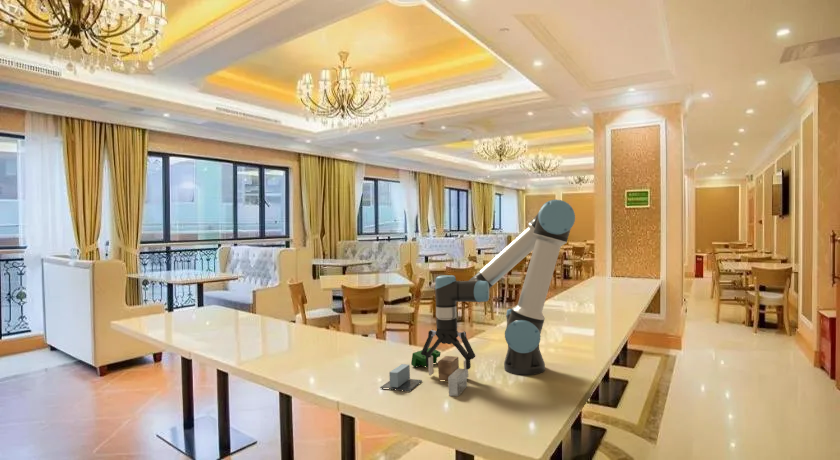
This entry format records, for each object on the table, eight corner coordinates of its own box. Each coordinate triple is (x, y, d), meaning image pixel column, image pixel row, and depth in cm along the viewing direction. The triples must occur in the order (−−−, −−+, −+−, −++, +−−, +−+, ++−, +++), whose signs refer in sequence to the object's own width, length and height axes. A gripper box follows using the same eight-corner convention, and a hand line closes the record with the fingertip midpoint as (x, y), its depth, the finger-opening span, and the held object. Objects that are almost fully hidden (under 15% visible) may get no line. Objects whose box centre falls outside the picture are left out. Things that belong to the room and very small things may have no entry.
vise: (467, 386, 155) (466, 368, 155) (457, 397, 145) (456, 378, 145) (394, 379, 166) (393, 362, 166) (380, 388, 156) (379, 371, 156)
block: (459, 375, 167) (458, 356, 167) (452, 382, 160) (451, 362, 160) (446, 374, 169) (445, 355, 169) (438, 381, 162) (438, 361, 162)
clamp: (423, 379, 178) (420, 361, 175) (413, 372, 182) (409, 355, 178) (443, 361, 186) (440, 344, 182) (432, 355, 190) (429, 339, 186)
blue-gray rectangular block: (410, 378, 163) (409, 364, 163) (397, 387, 154) (397, 372, 154) (402, 377, 164) (401, 364, 164) (389, 386, 155) (389, 372, 155)
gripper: (482, 317, 163) (484, 376, 163) (419, 314, 173) (421, 370, 173) (476, 321, 156) (478, 382, 156) (411, 318, 166) (413, 375, 166)
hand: (448, 376), depth 164 cm, fingers open, 13 cm apart
